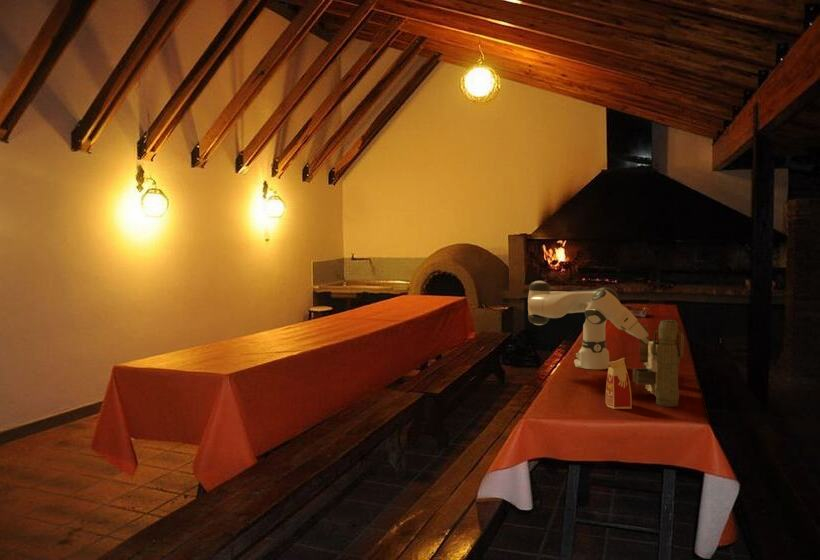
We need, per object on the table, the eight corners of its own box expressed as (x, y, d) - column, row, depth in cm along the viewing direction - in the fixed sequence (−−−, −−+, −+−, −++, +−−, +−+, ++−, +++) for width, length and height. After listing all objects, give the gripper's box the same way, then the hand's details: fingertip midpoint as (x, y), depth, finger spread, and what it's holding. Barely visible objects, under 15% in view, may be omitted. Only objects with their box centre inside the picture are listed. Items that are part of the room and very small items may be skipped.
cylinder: (637, 360, 281) (638, 324, 280) (646, 360, 282) (646, 324, 280) (640, 362, 278) (641, 326, 276) (649, 362, 278) (649, 325, 276)
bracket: (628, 389, 289) (629, 341, 287) (648, 388, 289) (648, 340, 287) (642, 399, 273) (642, 348, 271) (662, 398, 273) (663, 347, 271)
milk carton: (624, 402, 269) (624, 355, 267) (632, 408, 259) (633, 360, 258) (602, 403, 268) (603, 355, 267) (610, 409, 259) (610, 360, 257)
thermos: (681, 408, 258) (683, 322, 255) (650, 404, 264) (651, 320, 261) (684, 403, 266) (685, 319, 263) (654, 399, 272) (655, 317, 269)
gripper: (610, 321, 288) (631, 342, 289) (626, 328, 268) (649, 351, 269) (620, 311, 288) (641, 332, 289) (636, 317, 268) (659, 340, 269)
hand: (645, 341), depth 279 cm, fingers closed on cylinder, 4 cm apart
